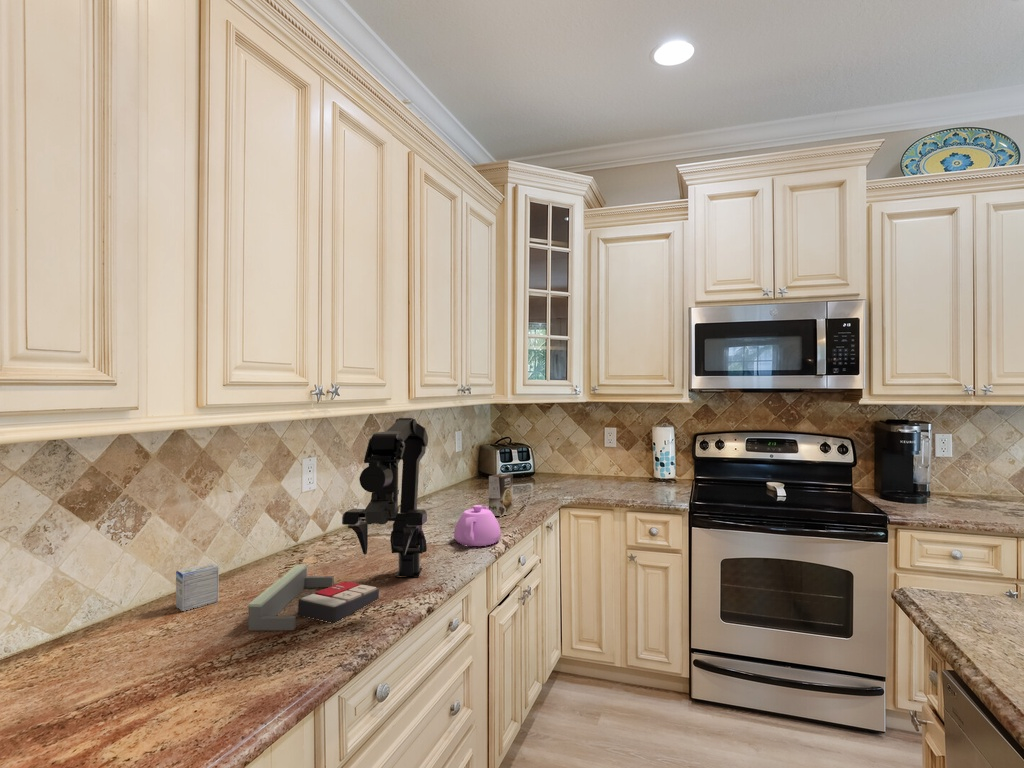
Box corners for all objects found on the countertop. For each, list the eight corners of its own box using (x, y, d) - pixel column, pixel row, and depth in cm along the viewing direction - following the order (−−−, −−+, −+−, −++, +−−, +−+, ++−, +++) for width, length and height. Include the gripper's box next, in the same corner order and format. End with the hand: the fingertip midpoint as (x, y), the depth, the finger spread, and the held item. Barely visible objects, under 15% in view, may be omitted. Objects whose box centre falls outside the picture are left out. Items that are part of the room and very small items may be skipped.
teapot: (492, 552, 170) (491, 513, 170) (444, 549, 173) (444, 511, 173) (507, 534, 191) (507, 499, 191) (465, 532, 194) (465, 498, 194)
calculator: (379, 586, 131) (334, 604, 118) (379, 604, 131) (333, 625, 118) (345, 579, 136) (297, 596, 123) (344, 597, 136) (296, 616, 123)
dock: (296, 586, 141) (296, 564, 141) (333, 585, 141) (333, 564, 141) (248, 630, 115) (248, 604, 115) (293, 630, 115) (293, 603, 115)
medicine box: (211, 597, 133) (211, 562, 133) (219, 602, 130) (219, 565, 130) (175, 607, 127) (175, 570, 127) (182, 612, 124) (182, 574, 124)
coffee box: (501, 517, 215) (501, 477, 215) (488, 516, 219) (488, 475, 219) (513, 513, 223) (513, 473, 223) (500, 511, 226) (500, 472, 227)
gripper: (333, 491, 121) (332, 562, 120) (416, 491, 120) (416, 564, 119) (351, 485, 132) (350, 550, 131) (427, 485, 131) (427, 552, 130)
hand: (384, 554), depth 127 cm, fingers open, 9 cm apart
